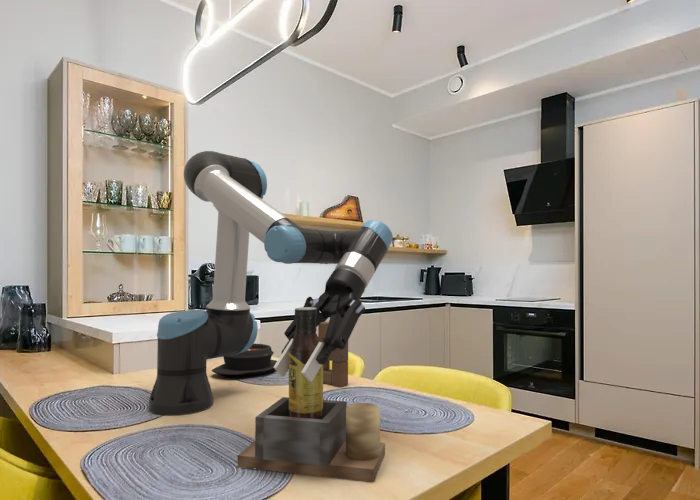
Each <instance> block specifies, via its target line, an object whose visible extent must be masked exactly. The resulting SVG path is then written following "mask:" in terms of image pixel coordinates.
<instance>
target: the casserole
mask: <svg viewBox="0 0 700 500" xmlns="http://www.w3.org/2000/svg"><path fill="white" fill-rule="evenodd" d="M274 354H275V353H274V351H273V350H272V346H271V345H268V344H263V343H254V344H253V345H252V346H251V347H250V348H249V349H248V350H247V351H245V352H243V353H239V354H237V355H233V356H230V355H229V356H223V357H222V358H223V362H224V363H223V364H221V365H219V366H217V367H215V368H213V369H211V372H212V373H215V374H218V375H223V376H224V375H225V376H240V375H249V376H256V375H255V374H257V375H261V374H264V373H266V372H267V371H271V370H274V365H275V364H276V362H277V361H278V360H276V359H275V360H274V359H272V356H273V355H274ZM260 373H261V374H260Z"/></svg>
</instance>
